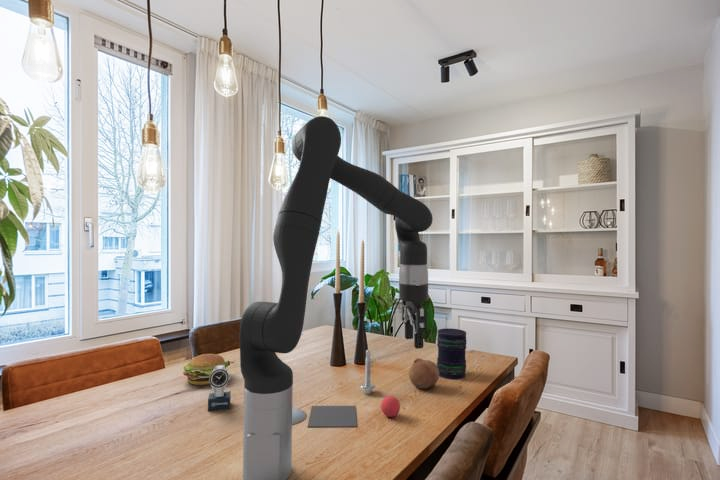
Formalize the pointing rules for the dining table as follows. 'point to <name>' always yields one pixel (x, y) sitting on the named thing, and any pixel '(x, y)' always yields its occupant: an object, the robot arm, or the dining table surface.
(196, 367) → the food
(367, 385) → the screw
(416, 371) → the onion
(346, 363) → the dining table surface
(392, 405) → the ball
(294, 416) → the disc
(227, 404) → the watch
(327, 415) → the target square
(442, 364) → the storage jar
